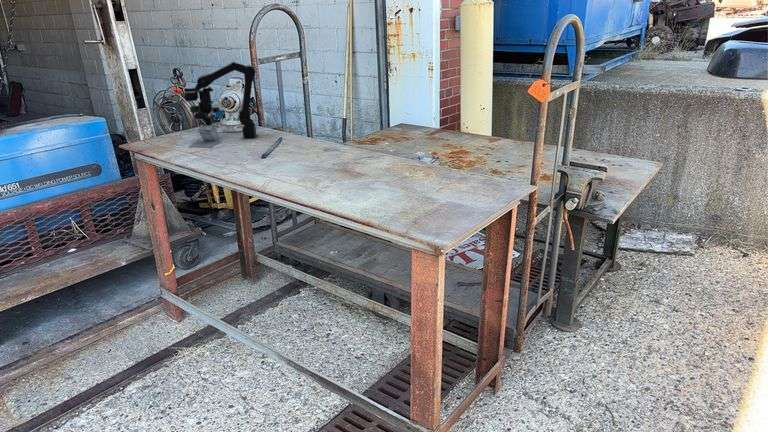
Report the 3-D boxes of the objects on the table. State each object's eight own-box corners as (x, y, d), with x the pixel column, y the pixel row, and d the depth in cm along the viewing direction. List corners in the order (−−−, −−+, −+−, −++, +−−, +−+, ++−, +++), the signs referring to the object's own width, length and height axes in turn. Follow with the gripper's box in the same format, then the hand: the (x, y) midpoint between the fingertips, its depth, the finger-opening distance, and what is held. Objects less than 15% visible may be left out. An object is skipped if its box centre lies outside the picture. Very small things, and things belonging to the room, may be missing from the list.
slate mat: (220, 141, 303) (220, 141, 302) (211, 147, 292) (210, 147, 292) (199, 141, 305) (198, 140, 305) (188, 147, 294) (188, 146, 294)
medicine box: (203, 141, 305) (197, 129, 298) (206, 135, 308) (200, 124, 301) (216, 141, 303) (210, 130, 297) (219, 135, 306) (213, 124, 299)
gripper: (199, 96, 307) (204, 124, 313) (183, 103, 290) (187, 132, 296) (218, 96, 305) (222, 124, 311) (202, 103, 288) (207, 132, 294)
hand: (209, 128), depth 303 cm, fingers closed
